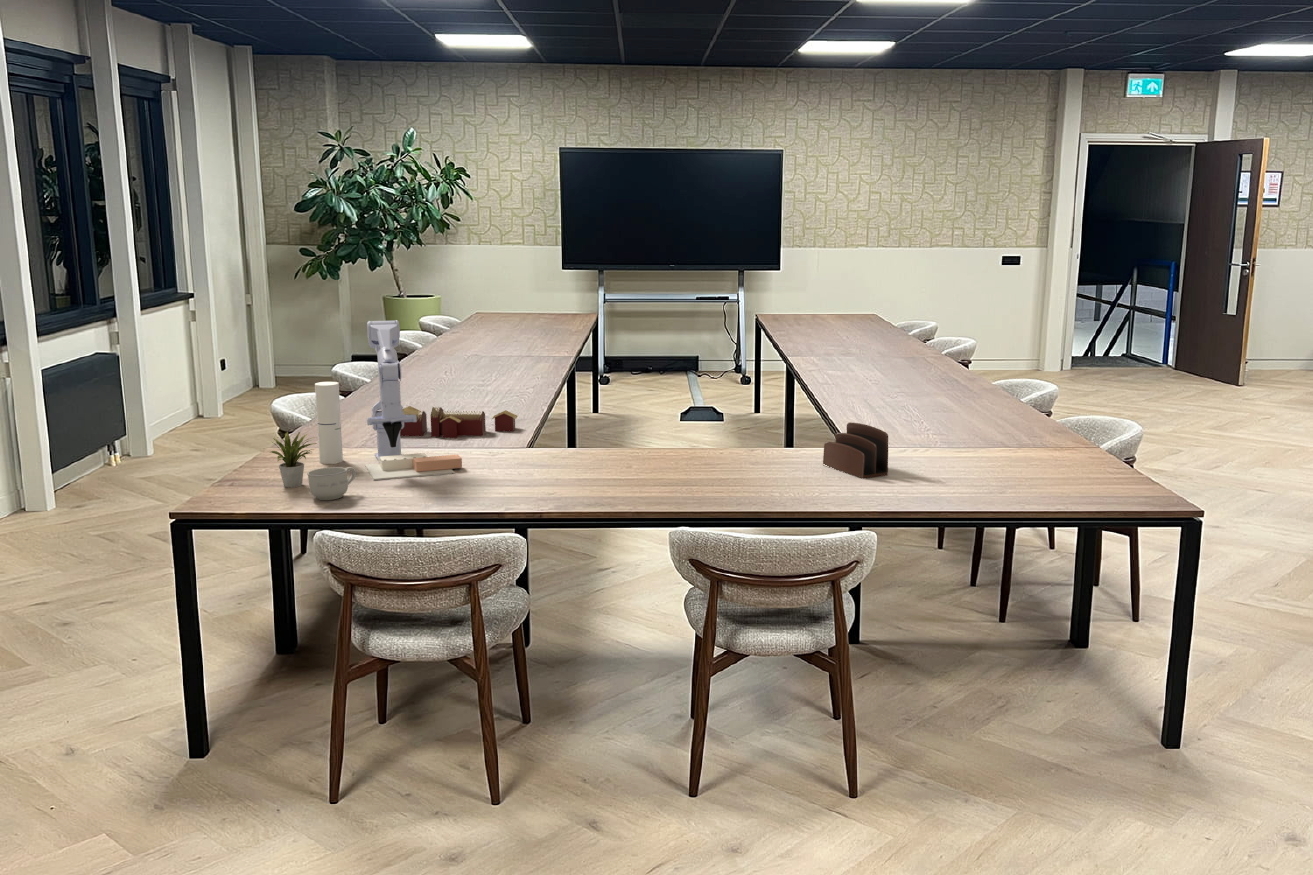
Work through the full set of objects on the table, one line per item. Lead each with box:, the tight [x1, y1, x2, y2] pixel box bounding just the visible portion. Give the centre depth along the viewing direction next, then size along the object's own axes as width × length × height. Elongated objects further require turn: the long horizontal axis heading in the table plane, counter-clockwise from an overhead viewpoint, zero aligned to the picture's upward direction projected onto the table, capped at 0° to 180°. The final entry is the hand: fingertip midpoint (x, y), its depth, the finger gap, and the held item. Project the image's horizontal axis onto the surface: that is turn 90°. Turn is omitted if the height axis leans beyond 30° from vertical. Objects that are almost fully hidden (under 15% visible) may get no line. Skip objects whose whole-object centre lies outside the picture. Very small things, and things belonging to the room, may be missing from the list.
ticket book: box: [378, 452, 429, 470], centre depth 351 cm, size 6×14×3 cm, turn 112°
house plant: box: [269, 430, 318, 489], centre depth 327 cm, size 14×14×16 cm
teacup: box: [307, 466, 357, 501], centre depth 317 cm, size 14×11×8 cm
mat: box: [364, 463, 455, 481], centre depth 349 cm, size 19×24×1 cm
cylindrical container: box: [314, 381, 344, 465], centre depth 357 cm, size 7×7×25 cm
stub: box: [413, 453, 463, 472], centre depth 349 cm, size 6×14×3 cm, turn 112°
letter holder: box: [822, 422, 889, 479], centre depth 350 cm, size 10×20×14 cm, turn 29°
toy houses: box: [400, 405, 518, 439], centre depth 403 cm, size 45×20×10 cm, turn 90°
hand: (393, 446), depth 343 cm, fingers closed
